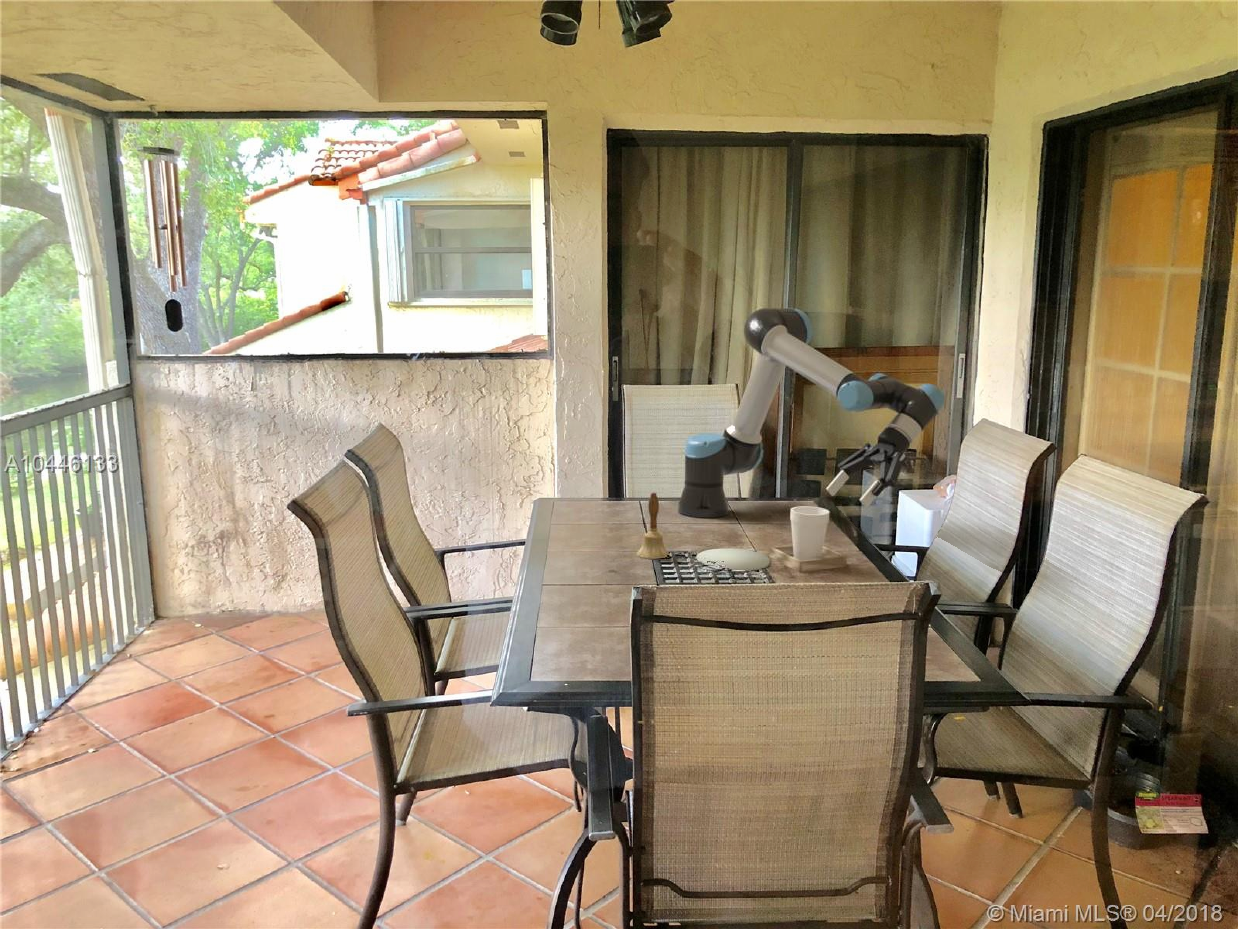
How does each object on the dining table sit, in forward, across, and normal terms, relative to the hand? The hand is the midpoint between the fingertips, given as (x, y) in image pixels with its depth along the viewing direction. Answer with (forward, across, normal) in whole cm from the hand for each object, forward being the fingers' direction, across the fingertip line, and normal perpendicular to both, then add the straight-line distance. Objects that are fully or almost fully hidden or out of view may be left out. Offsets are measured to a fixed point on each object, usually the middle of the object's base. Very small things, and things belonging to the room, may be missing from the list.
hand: (845, 498), depth 225 cm
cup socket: (+18, 0, -4) cm, 19 cm away
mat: (+30, +7, +9) cm, 32 cm away
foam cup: (+18, 0, -4) cm, 19 cm away
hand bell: (+42, +18, +20) cm, 50 cm away
